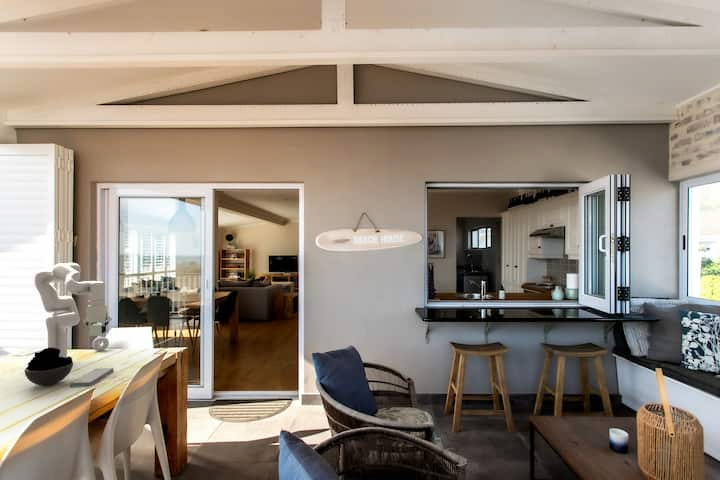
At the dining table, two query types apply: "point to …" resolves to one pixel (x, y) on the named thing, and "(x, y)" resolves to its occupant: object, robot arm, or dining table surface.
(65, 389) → the dining table surface
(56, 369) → the coal bowl
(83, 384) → the board
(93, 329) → the block
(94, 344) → the donut
